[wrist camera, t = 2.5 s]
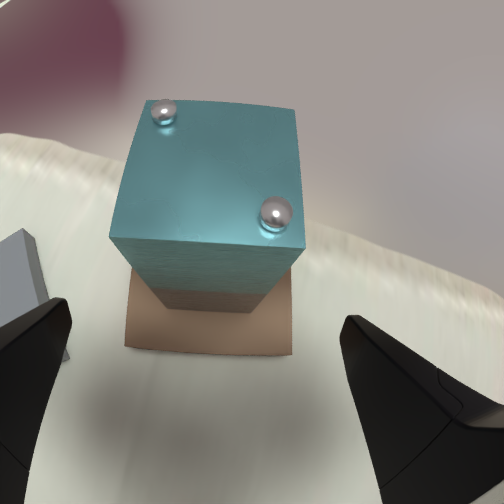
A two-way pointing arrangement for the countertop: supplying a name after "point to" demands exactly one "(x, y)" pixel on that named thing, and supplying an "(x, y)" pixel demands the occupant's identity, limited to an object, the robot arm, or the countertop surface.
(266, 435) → the countertop surface
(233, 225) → the block
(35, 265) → the stand
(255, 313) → the stand
